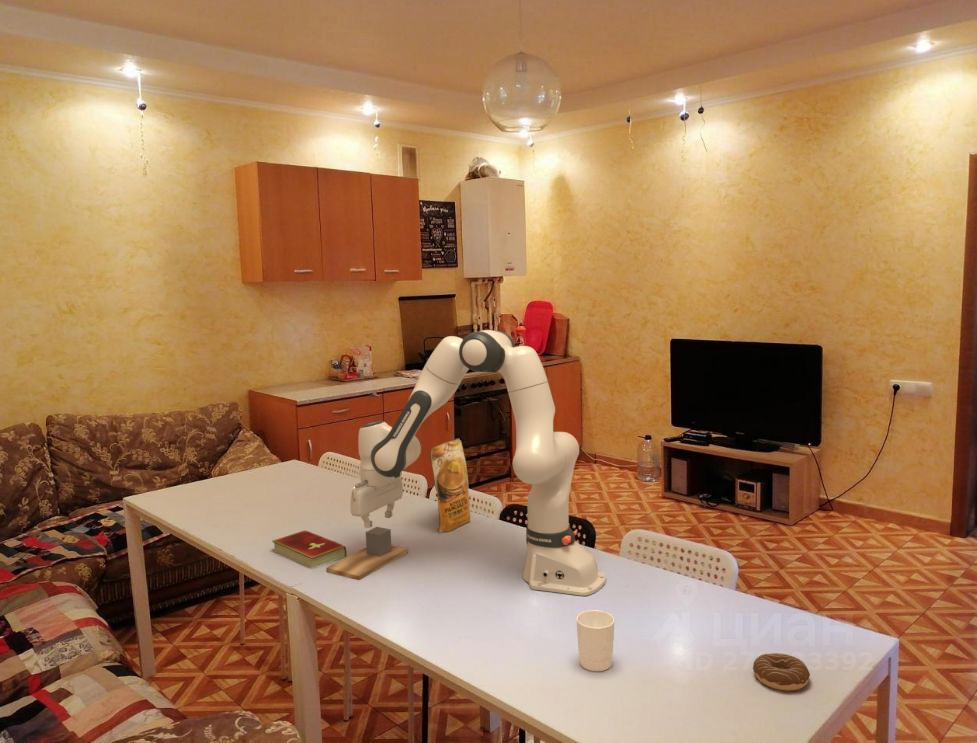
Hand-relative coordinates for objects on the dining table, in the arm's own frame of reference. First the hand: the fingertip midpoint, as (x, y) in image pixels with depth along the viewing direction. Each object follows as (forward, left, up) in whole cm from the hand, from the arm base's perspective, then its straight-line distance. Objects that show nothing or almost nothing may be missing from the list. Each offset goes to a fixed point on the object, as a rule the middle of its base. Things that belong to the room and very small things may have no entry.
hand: (378, 522), depth 213 cm
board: (+1, +5, -11) cm, 12 cm away
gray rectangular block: (+1, 0, -9) cm, 9 cm away
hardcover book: (+21, +8, -11) cm, 25 cm away
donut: (-113, +13, -11) cm, 115 cm away
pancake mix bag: (-4, -32, -11) cm, 34 cm away
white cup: (-78, +25, -11) cm, 83 cm away
